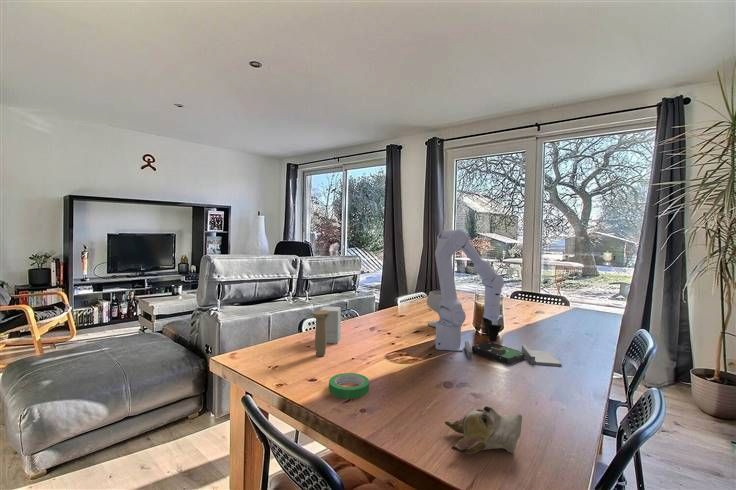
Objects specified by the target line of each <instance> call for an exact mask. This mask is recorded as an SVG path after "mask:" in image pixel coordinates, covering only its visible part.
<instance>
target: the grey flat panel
mask: <svg viewBox="0 0 736 490" xmlns="http://www.w3.org/2000/svg"><path fill="white" fill-rule="evenodd" d="M464 349H465V352H466V356H467V359H468V360H473V352H472V346H471V345H470V342H469V341H468V340H465V341H464ZM521 352H523V353H524V354H525V359H527V361H528V362H529V363H530V365H539V366H541V365H543V366H555V367H562V365H563V364H562V363H561V362H560V360H559V359H558V358H556V356H555V355H553V354H552V352H551V351H548V350H537V349H536V350H535V349H529V348H528V346H527V345H526V344H522V345H521Z"/></svg>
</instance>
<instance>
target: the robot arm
mask: <svg viewBox="0 0 736 490" xmlns="http://www.w3.org/2000/svg"><path fill="white" fill-rule="evenodd" d="M436 238H437V243H436V247H435V251H434V256H435V262H436V263H435V264H436V268H437V274H438V275H437V276H438V281H439V289H440V291H441V295H442V300H441V301H440V302H439V310H438V313H437V314H438V317H439V319H440V318H441V323H436V327H435V337H434V343H435V350H440V351H441V350H442V351H444V350H445V351H452V352H453V351H454V352H463V347H462V344H461V340H462V325H463V324H464V323H465V321H466V319H467V316H466V311H465V310H464V308H463V304H462V302H461V301H460V300H459V299H458V296H457V289H456V283H455V276H454V269H453V263H452V257H453V255H454V253H456V252H458V251H459V250H461V251H462V252H463V253H464V254H465V256H466V257H467V258H468V259H469V260H470V261H471V262H472V263H473V270H474V271H475V272H476V274H477V275H478V276H479V277H480V278H481V284H482V285H483V286H484V306H483V307H484V309H483V316H482V317H481V319H482V320H483V323H484V329H485V333H486V334H485V335H486V336H488V339H489V342H492V343H495V342H497V339H498V335H499V332H500V330H501V328H502V327H503V325H502V324H501V323H499V320H500V319H504V316H503V315H502V314H501V312H500V311H501V310H500V309H501V293H502V292H503V291H502V290H503V287H504V286H505V281H504V278H503V276H502V275H500V274H498V273H497V270H496V269H494V267H492V265H491V264H490V263H491V262H490V260H488V259H486V258H482V257H481V256H480V254H479V252H478V251H477V249H476V248H475V247H474V245H473V244H472V242H471V240H470V236H469V235H468V234H467V233H466V232H465V231H464V230H462V229H447V228H446V229H443V230H442V231H440V233H439V234H438V235H437V237H436Z"/></svg>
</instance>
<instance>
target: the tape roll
mask: <svg viewBox="0 0 736 490" xmlns="http://www.w3.org/2000/svg"><path fill="white" fill-rule="evenodd" d="M343 384H356V386H344V385H343ZM328 391H329V394H331V395H332V396H333V397H336V398H338V399H339V398H341V399H346V400H347V399H348V400H350V399H351V400H352V399H359V398H361V397H364V396H365V395H367V394H369V391H370V379H369V378H368V377H367V376H365V375H364V374H361V373H356V372H343V373H338V374H335V375H333V376H331V377H330V378H329V380H328Z"/></svg>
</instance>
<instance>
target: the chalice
mask: <svg viewBox="0 0 736 490" xmlns="http://www.w3.org/2000/svg"><path fill="white" fill-rule="evenodd" d="M426 298H427V299H426V305H427V306H428V308H429V309H431V310H432V311H433V312H435V313H437V314H438V310H439V302H440V301H441V300H442V295H441V290H432V291H430V292H429V293H428V295H427V297H426ZM436 323H441V318H440V317H439V319H438V320H432V321H429V322H428V326H431V327H432V328H436Z"/></svg>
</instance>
